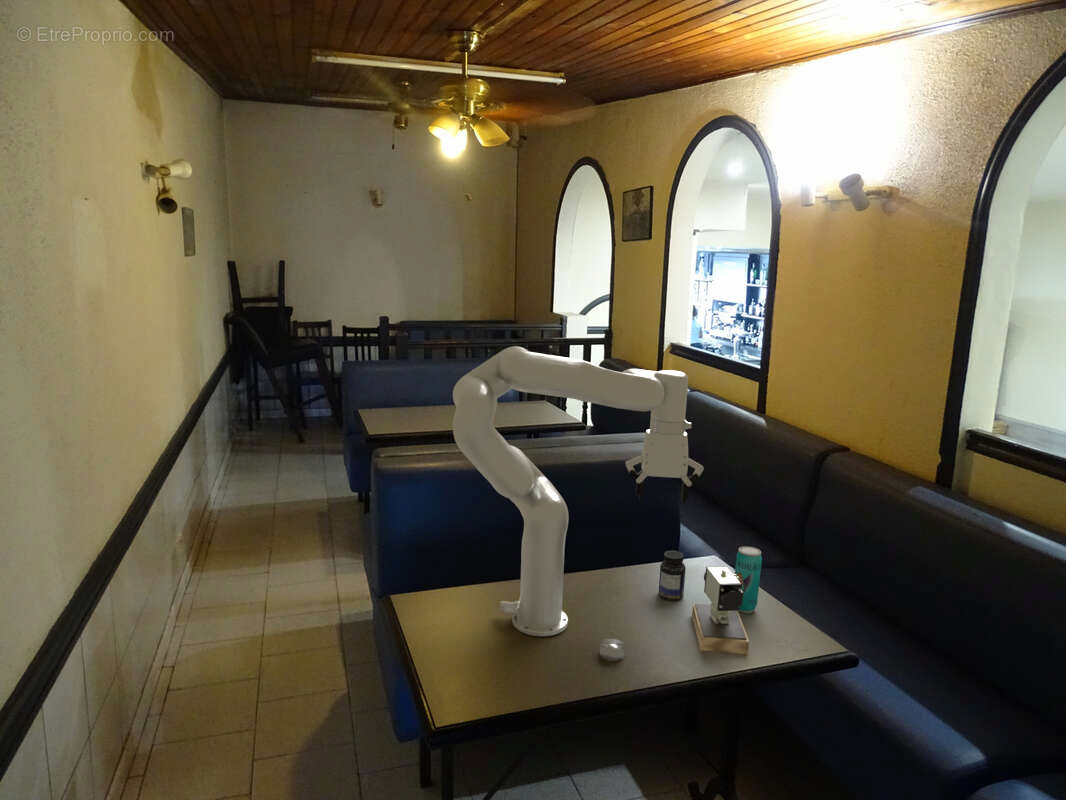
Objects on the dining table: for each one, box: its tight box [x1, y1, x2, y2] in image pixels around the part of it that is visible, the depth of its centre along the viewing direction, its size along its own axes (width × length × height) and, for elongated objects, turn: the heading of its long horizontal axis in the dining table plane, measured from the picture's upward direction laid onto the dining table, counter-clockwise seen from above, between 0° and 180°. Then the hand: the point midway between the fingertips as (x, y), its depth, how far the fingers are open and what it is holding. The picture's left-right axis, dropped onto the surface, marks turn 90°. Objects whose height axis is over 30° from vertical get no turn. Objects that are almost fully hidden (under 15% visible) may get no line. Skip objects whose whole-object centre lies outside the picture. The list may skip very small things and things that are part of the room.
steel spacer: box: [599, 638, 625, 662], centre depth 154 cm, size 5×5×2 cm
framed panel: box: [691, 603, 750, 655], centre depth 164 cm, size 10×15×3 cm, turn 175°
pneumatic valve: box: [703, 565, 743, 624], centre depth 162 cm, size 6×12×12 cm, turn 7°
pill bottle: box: [658, 550, 686, 602], centre depth 180 cm, size 6×6×11 cm
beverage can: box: [734, 545, 763, 614], centre depth 174 cm, size 6×6×15 cm
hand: (661, 499), depth 166 cm, fingers open, 9 cm apart
